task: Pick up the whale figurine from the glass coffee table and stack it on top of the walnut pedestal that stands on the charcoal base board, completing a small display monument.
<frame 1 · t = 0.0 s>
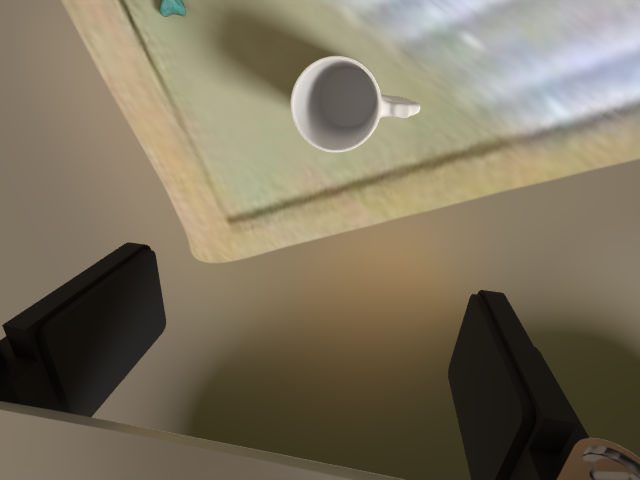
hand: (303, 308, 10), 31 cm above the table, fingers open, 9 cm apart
mug: (363, 98, 37), on the table
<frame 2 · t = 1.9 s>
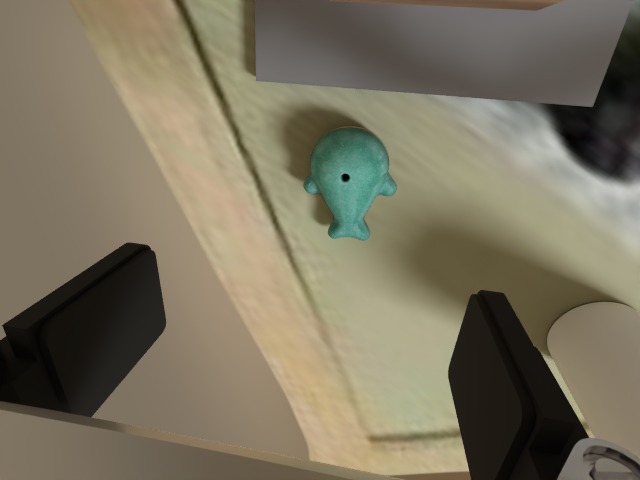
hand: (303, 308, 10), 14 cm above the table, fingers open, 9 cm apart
whale figurine: (351, 180, 23), on the table
mug: (617, 338, 25), on the table
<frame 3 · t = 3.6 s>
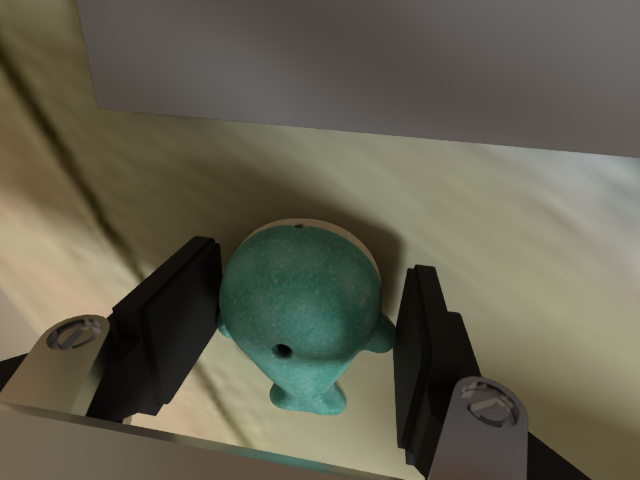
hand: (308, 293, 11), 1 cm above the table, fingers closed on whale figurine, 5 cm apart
whale figurine: (312, 301, 13), on the table, touching gripper
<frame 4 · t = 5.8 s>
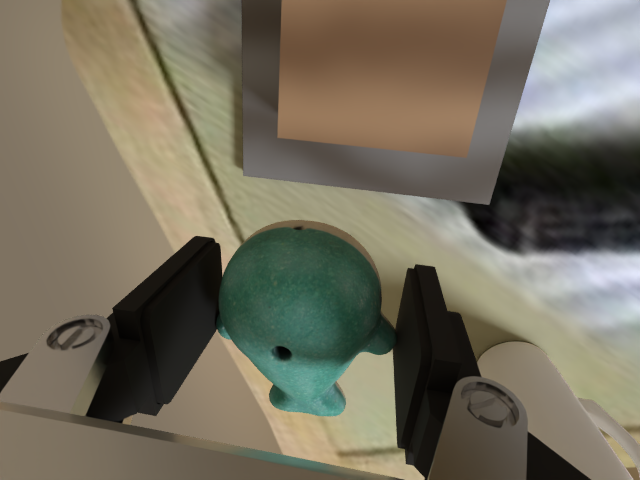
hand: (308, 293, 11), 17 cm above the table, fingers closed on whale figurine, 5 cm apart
whale figurine: (311, 303, 13), point 16 cm above the table, touching gripper
mug: (529, 369, 31), on the table
display plinth: (381, 51, 23), on the table
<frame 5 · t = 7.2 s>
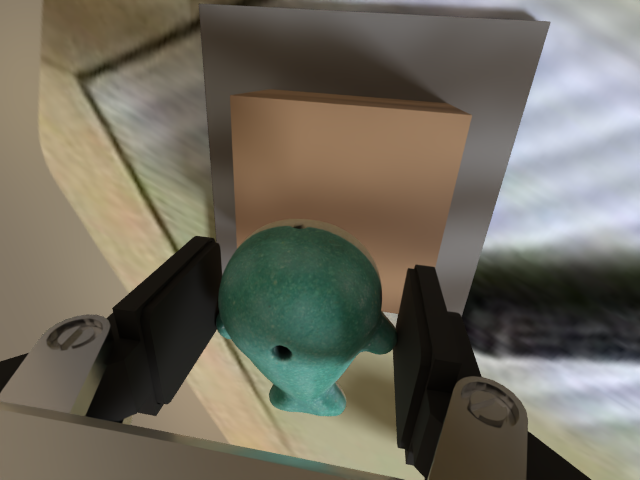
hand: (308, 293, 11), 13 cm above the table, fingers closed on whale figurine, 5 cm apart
whale figurine: (312, 302, 12), point 12 cm above the table, touching gripper
display plinth: (348, 177, 23), on the table
when the fingers open (9 cm above the table, at t = 8.4 s): whale figurine drops 1 cm, resting on display plinth.
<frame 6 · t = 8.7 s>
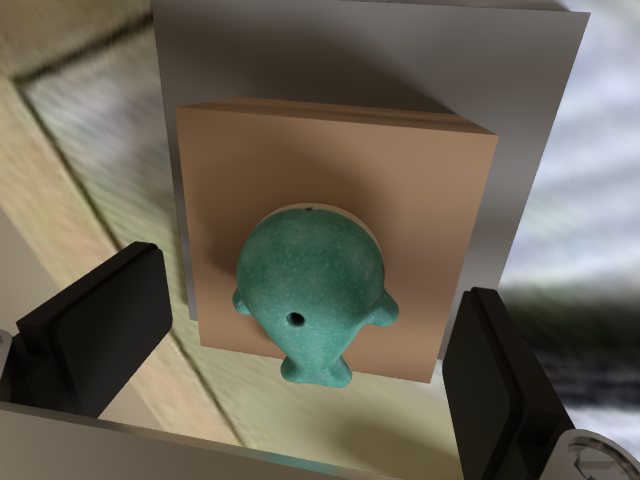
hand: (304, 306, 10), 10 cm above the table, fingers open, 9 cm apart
whale figurine: (319, 283, 13), point 7 cm above the table, touching display plinth
display plinth: (338, 201, 19), on the table
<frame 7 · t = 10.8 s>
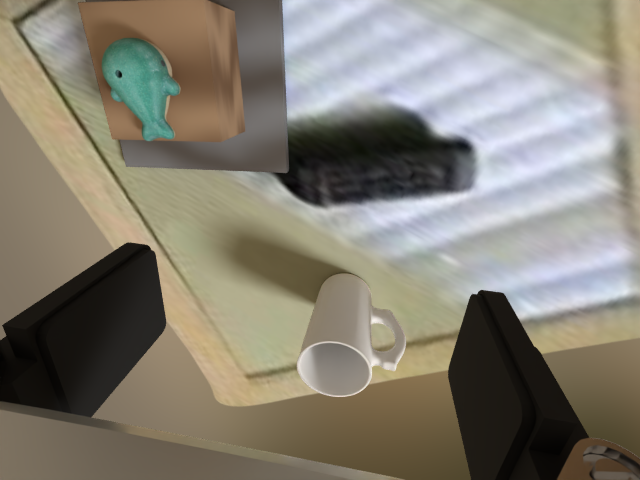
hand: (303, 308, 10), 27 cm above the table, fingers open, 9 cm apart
whale figurine: (156, 91, 28), point 7 cm above the table, touching display plinth
mug: (359, 295, 42), on the table
display plinth: (194, 75, 34), on the table
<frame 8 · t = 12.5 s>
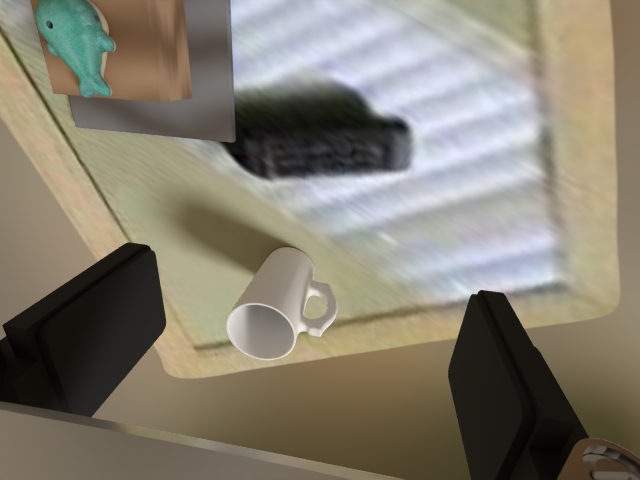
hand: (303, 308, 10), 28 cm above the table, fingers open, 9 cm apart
whale figurine: (95, 49, 29), point 7 cm above the table, touching display plinth
mug: (303, 270, 43), on the table
display plinth: (144, 39, 35), on the table
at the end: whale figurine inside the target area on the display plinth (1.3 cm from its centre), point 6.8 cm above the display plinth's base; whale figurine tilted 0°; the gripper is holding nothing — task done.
